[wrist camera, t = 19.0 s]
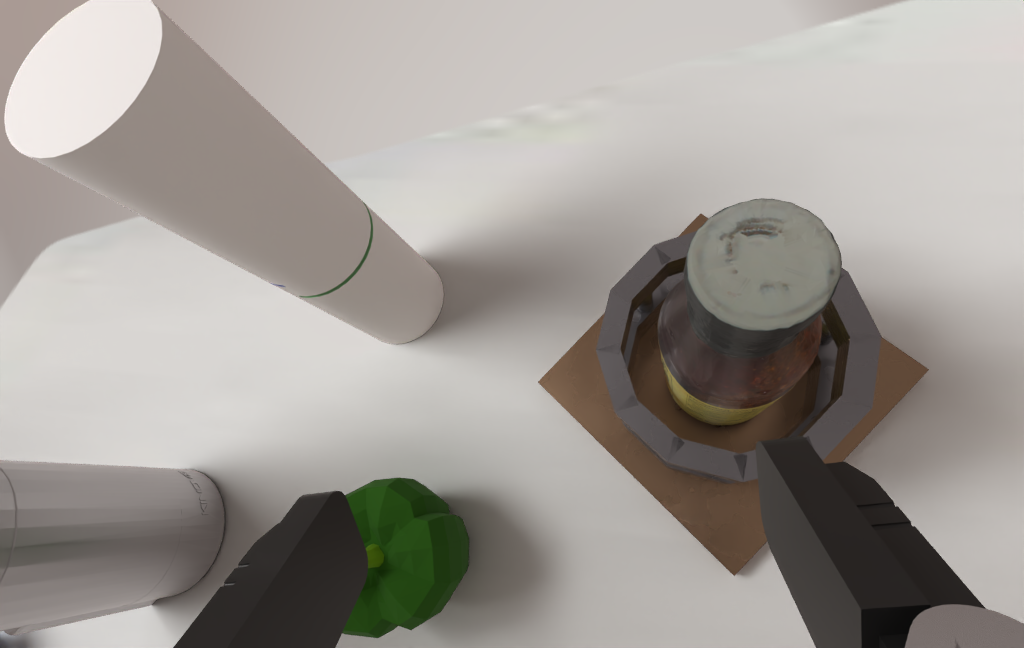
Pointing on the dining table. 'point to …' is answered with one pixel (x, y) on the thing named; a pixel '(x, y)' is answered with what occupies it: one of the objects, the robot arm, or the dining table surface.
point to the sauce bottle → (747, 309)
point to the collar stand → (720, 448)
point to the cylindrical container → (210, 165)
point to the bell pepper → (405, 555)
